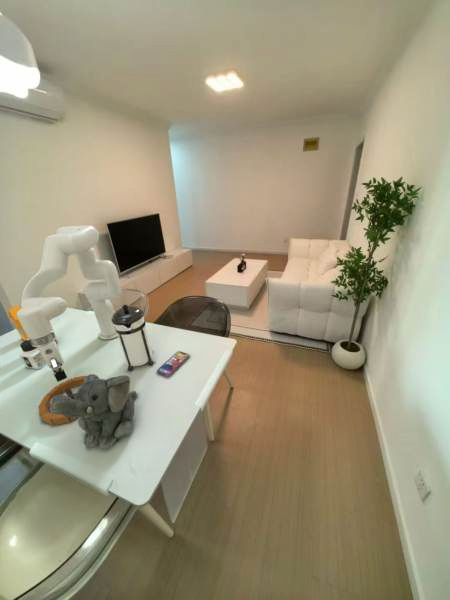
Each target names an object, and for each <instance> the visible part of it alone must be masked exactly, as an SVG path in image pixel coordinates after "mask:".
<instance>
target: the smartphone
mask: <svg viewBox="0 0 450 600" xmlns="http://www.w3.org/2000/svg"><path fill="white" fill-rule="evenodd" d="M189 358H190V354H188V353H186V352H183V351H181V350H180V351H176V352H175V353H174V354H172V356H171V357H170V358H169V359H167V360H166V361H165V362H164V363H163V364H162V365H161V366H160V367H158V368H157V373H158V374H161V375H162V376H165V377H171V376H172V375H173V374H174V373H175V372H177V370H178V369H179V368H180V367H181V366H182V365H183V364H184V363H185V362H186V361H187V360H188V359H189Z"/></svg>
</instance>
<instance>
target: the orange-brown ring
mask: <svg viewBox="0 0 450 600" xmlns="http://www.w3.org/2000/svg"><path fill="white" fill-rule="evenodd" d="M86 376H87V375H81V376H75V377H73V378H72V377H71V378H69V379H67V380H65V381H63V382H61V383H59V384H58V385H56V386H55V387H53V388H52V389H51V390H50V391H49V392H47V393H46V394H45V395H44V396H43V398H42V400H41V401H40V403H39V405H38V414H39V417H40V419H41V420H42V421H43V423H46V424H49V425H52V426H58V425H62V424H66V423H70V422H73V421H75V420H76V419H79V417H76V418H67V417H65V416H63V415H62V414H61V415H56V414H52V413H51V412H49V409H50V400H51V399H52V398H53V397H54V396H57V395H62V394H63V393H65V389H67V388H71V389H73V388H75V387H78V386H81V385H82V384H83V383H84V380H85V378H86Z"/></svg>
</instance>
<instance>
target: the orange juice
mask: <svg viewBox="0 0 450 600" xmlns="http://www.w3.org/2000/svg"><path fill="white" fill-rule="evenodd" d="M20 309H22V308H21V304H20V305H17V306H15V307H12V308H9V309H7V312H8V315H9V318H10V320H11V322H12V324H13V325H14V327H15V329H16V331H17V333H18V334H19V336H20V337H21V340H23V341H25V340H28V337H27V335H26V333H25V331H24V329H23V327H22V325H21V323H20V321H19V320H18V318H17V312H18V311H19V310H20Z"/></svg>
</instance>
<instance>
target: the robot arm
mask: <svg viewBox="0 0 450 600" xmlns="http://www.w3.org/2000/svg"><path fill="white" fill-rule="evenodd" d="M99 240H100V233H99V231H98V230H97V228H95V227H94V226H93V225H70V226H62V227H59V228H57V229H56V230H55V234H50V235H48V236H46V238H45V239H44V242H43V249H42V255H41V261H40V268H39V270H38V271H37V272H35V274H34V275H33V276H32V277H31V278H30V279H29V281H28V282H27V283H26V284H25V286H24V288H23V291H22V296H21V304H20V305H21V308H22V309H20V310H19V311H18V312H17V318H18V320H19V321H20V323H21V325H22V327H23V329H24V331H25V333H26V335H27V337H28V339H29V341H30V343H31V344H32V346H33V347H38V349H39V351H40V353H41V355H42V357H43V358H44V360H45V362H46V364H45V365H47V367H48V369H51V371H52V372H53V376H54V378H55V381H56V382H61V381H63V380H65V379H67V378H68V376H67V374H66V372H65V370H64V368H63V367H62V366H63V364H64V363H65V360H64V357H63V355H62V353H61V350H60V349H59V346H58V344H57V341H56V342H55V339H56V340H57V335H56V332H55V330H54V329H53V326H52V323H51V320H53V319H55V318H58V317H60V316H61V315H63V314H64V313H65V312H66V311H67V308H68V303H67V301H66V300H65V299H64V298H62V297H59V296H43V297H42V294H43V293H44V291H45V289H46V288H47V287H48V286H49V285H51V284H52V283H54V282H57V281H58V280H61V279H62V278H63V277H66V275H67V273H68V267H69V266H68V264H69V260H70V259H69V258H70V256H71V255H73V256H74V255H75V257H76V259H77V263H78V265H79V268H80V271H81V275H82V276H83V278H84V279H85V280H88V281H90V282H88V283H87V284H85V286H84V289H83V293H84V295H85V297H86V299H87V300H88V301H89V304H90V305H91V308H92V311H93V313H94V316H95V319H96V323H97V324H98V327H99V330H100V332H99V333H98V336H99V338H100V339H101V340H106V341H107V340H112V339H116V338H118V335H117V333H116V331H115V328H114V324H113V323H112V320H111V319H112V317H113V314H114V313H115V312H116V311H115V309H114V305H113V303H112V301H111V300H117V299H119V298H120V297H121V296H122V293H123V292H122V291H123V290H122V285H121V281H120V277H119V273H118V269H117V267H116V265H115V263H114V262H113V261H111V260H108V259H104V260H99V259H98V254H97V252H96V250H95V248H94V247H95V246H96V245H97V244H98V243H99Z"/></svg>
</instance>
